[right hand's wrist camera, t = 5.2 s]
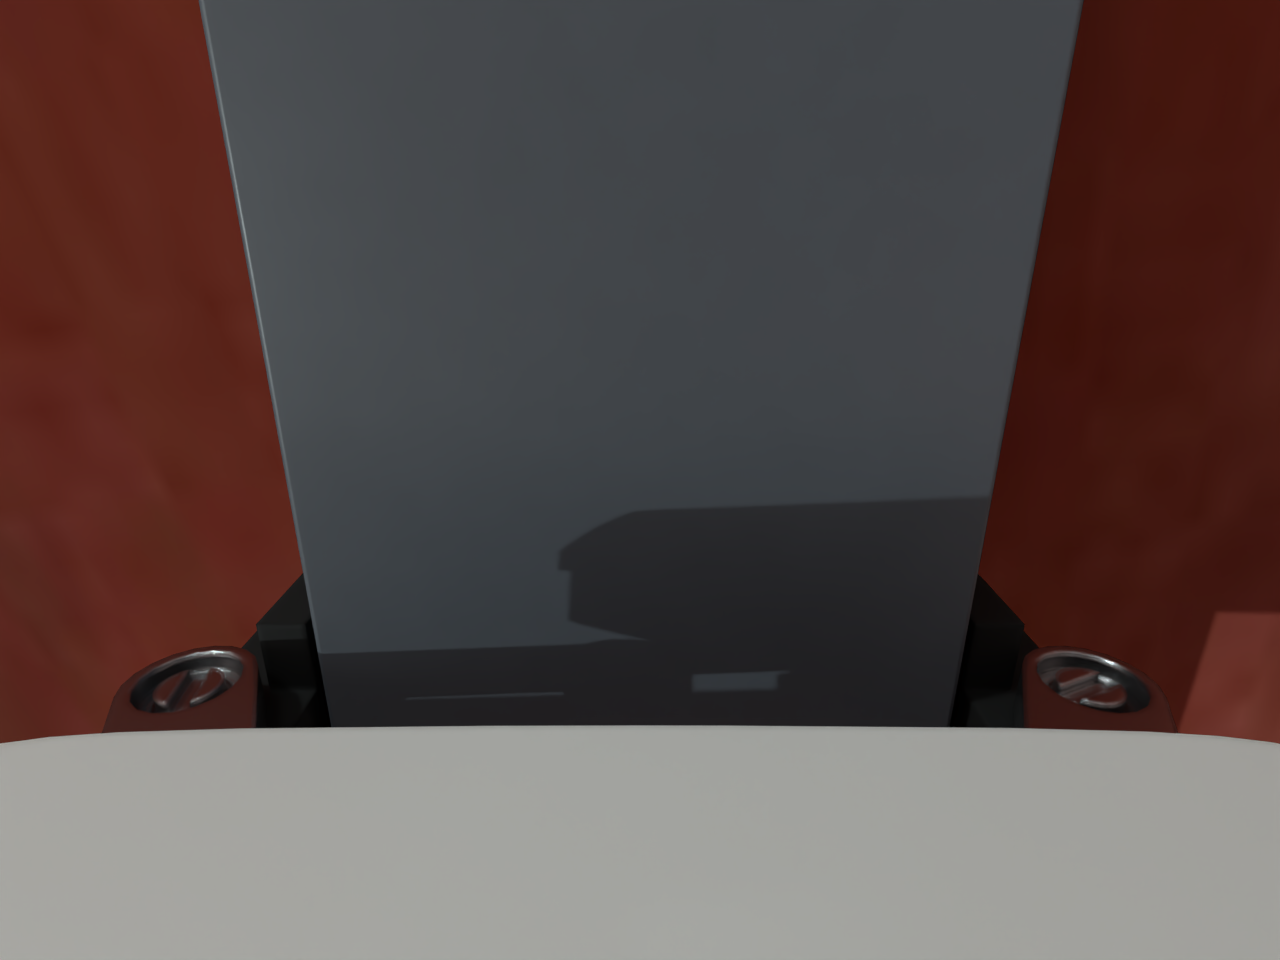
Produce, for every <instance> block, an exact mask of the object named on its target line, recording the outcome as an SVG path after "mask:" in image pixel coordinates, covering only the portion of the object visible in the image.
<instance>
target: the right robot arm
mask: <svg viewBox="0 0 1280 960" xmlns="http://www.w3.org/2000/svg"><path fill="white" fill-rule="evenodd" d="M1024 625H1025V624H1024V623H1023V622H1022V621H1021V620H1020V619H1019V618H1018V617H1017V616H1016V615H1015V614H1014V612H1013V611H1012V610H1011V609H1010V608H1009V607H1008V606H1007V605H1006V604H1005V603H1004V601H1003V600H1002V599H1001V598H1000V597H999V596H998V595H997V594H996V593H995V592H994V591H993V589H992V588H991V587H990V586H989V585H988V584H987V583H986V582H985V581H984V580H983V579H982V577H981V576H980V575H979V574H978V575H977V581H976V586H975V591H974V597H973V602H972V608H971V613H970V619H969V624H968V629H967V635H966V640H965V646H964V651H963V656H962V662H961V667H960V673H959V678H958V684H957V689H956V694H955V700H954V705H953V711H952V716H951V721H950V727H839V726H685V725H614V726H426V727H333V728H331V722H330V717H329V711H328V706H327V700H326V695H325V689H324V684H323V678H322V673H321V667H320V662H319V656H318V651H317V645H316V640H315V634H314V629H313V623H312V618H311V613H310V607H309V602H308V596H307V591H306V585H305V580H304V574H302V575H301V576H300V577H299V578H298V579H297V580H296V581H295V583H294V584H293V585H292V586H291V587H290V588H289V589H288V590H287V591H286V592H285V593H284V595H283V596H282V597H281V598H280V599H279V600H278V601H277V602H276V603H275V604H274V605H273V607H272V608H271V609H270V610H269V611H268V612H267V613H266V614H265V615H264V616H263V618H262V619H261V620H260V621H259V622H258V623H257V624H256V627H257V632H256V633H255V634H254V635H253V636H252V637H251V638H250V639H249V640H248V642H247V643H246V644H245V645H244V646H243V647H242V648H238V647H234V646H210V647H203V648H196V649H191V650H188V651H184V652H180V653H177V654H173V655H171V656H168V657H166V658H164V659H161V660H159V661H156V662H154V663H152V664H150V665H148V666H147V667H145V668H143V669H142V670H140V671H138V672H137V673H135V674H134V675H133V676H131V677H130V678H129V679H128V680H127V681H126V682H125V683H123V684H122V685H121V686H120V688H119V690H118V691H117V693H116V695H115V696H114V698H113V701H112V704H111V707H110V710H109V713H108V716H107V719H106V722H105V725H104V728H103V731H102V733H100V734H87V735H73V736H59V737H47V738H39V739H32V740H24V741H17V742H9V743H2V744H0V960H1280V744H1278V743H1272V742H1265V741H1256V740H1248V739H1240V738H1231V737H1223V736H1210V735H1194V734H1180V733H1178V731H1177V728H1176V725H1175V722H1174V719H1173V716H1172V713H1171V710H1170V707H1169V704H1168V701H1167V698H1166V696H1165V695H1164V693H1163V691H1162V690H1161V688H1160V686H1159V685H1158V684H1157V683H1155V682H1154V681H1153V680H1152V679H1151V678H1150V677H1149V676H1147V675H1146V674H1145V673H1143V672H1142V671H1140V670H1138V669H1137V668H1135V667H1133V666H1132V665H1130V664H1128V663H1126V662H1124V661H1121V660H1119V659H1116V658H1114V657H1112V656H1109V655H1107V654H1103V653H1100V652H1096V651H1092V650H1089V649H1084V648H1077V647H1070V646H1046V647H1042V648H1038V646H1037V645H1036V644H1035V643H1034V642H1033V641H1032V640H1031V639H1030V637H1029V636H1028V635H1027V634H1026V633H1025V632H1024V631H1023V630H1024Z"/></svg>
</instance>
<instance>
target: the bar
mask: <svg viewBox="0 0 1280 960" xmlns="http://www.w3.org/2000/svg"><path fill="white" fill-rule="evenodd" d="M1083 1H1084V0H199V5H200V10H201V16H202V21H203V27H204V32H205V38H206V43H207V49H208V54H209V60H210V65H211V70H212V76H213V81H214V87H215V92H216V98H217V103H218V109H219V114H220V120H221V125H222V131H223V136H224V142H225V147H226V153H227V158H228V164H229V169H230V174H231V180H232V185H233V191H234V196H235V202H236V207H237V213H238V218H239V224H240V229H241V235H242V240H243V246H244V251H245V257H246V262H247V268H248V273H249V279H250V284H251V289H252V295H253V300H254V306H255V311H256V317H257V322H258V328H259V333H260V339H261V344H262V350H263V355H264V361H265V366H266V372H267V377H268V383H269V388H270V394H271V399H272V404H273V410H274V415H275V421H276V426H277V432H278V437H279V443H280V448H281V454H282V459H283V465H284V470H285V476H286V481H287V487H288V492H289V498H290V503H291V509H292V514H293V519H294V525H295V530H296V536H297V541H298V547H299V552H300V558H301V563H302V569H303V574H304V580H305V585H306V591H307V596H308V602H309V607H310V613H311V618H312V623H313V629H314V634H315V640H316V645H317V651H318V656H319V662H320V667H321V673H322V678H323V684H324V689H325V695H326V700H327V706H328V711H329V717H330V722H331V728H333V727H426V726H614V725H685V726H839V727H950V721H951V716H952V711H953V705H954V700H955V694H956V689H957V684H958V678H959V673H960V667H961V662H962V656H963V651H964V646H965V640H966V635H967V629H968V624H969V619H970V613H971V608H972V602H973V597H974V591H975V586H976V581H977V575H978V570H979V564H980V559H981V554H982V548H983V543H984V537H985V532H986V526H987V521H988V516H989V510H990V505H991V499H992V494H993V489H994V483H995V478H996V472H997V467H998V461H999V456H1000V451H1001V445H1002V440H1003V434H1004V429H1005V424H1006V418H1007V413H1008V407H1009V402H1010V397H1011V391H1012V386H1013V380H1014V375H1015V369H1016V364H1017V359H1018V353H1019V348H1020V342H1021V337H1022V332H1023V326H1024V321H1025V315H1026V310H1027V304H1028V299H1029V294H1030V288H1031V283H1032V277H1033V272H1034V267H1035V261H1036V256H1037V250H1038V245H1039V239H1040V234H1041V229H1042V223H1043V218H1044V212H1045V207H1046V202H1047V196H1048V191H1049V185H1050V180H1051V174H1052V169H1053V164H1054V158H1055V153H1056V147H1057V142H1058V137H1059V131H1060V126H1061V120H1062V115H1063V109H1064V104H1065V99H1066V93H1067V88H1068V82H1069V77H1070V72H1071V66H1072V61H1073V55H1074V50H1075V44H1076V39H1077V34H1078V28H1079V23H1080V17H1081V12H1082V7H1083Z"/></svg>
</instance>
